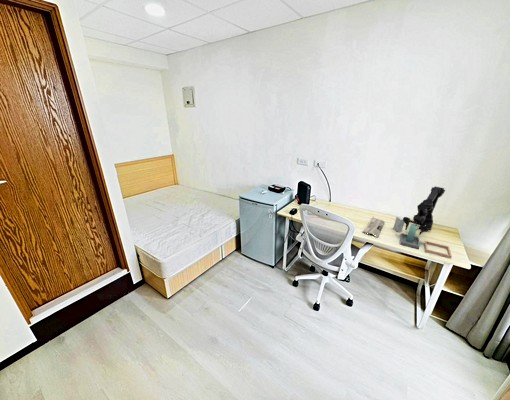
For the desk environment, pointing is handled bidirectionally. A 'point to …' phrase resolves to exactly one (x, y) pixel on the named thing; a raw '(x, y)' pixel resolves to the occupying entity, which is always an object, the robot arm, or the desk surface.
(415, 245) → the tray
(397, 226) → the skincare box
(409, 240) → the canister
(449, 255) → the pink square frame
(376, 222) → the newspaper
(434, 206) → the robot arm
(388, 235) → the desk surface
